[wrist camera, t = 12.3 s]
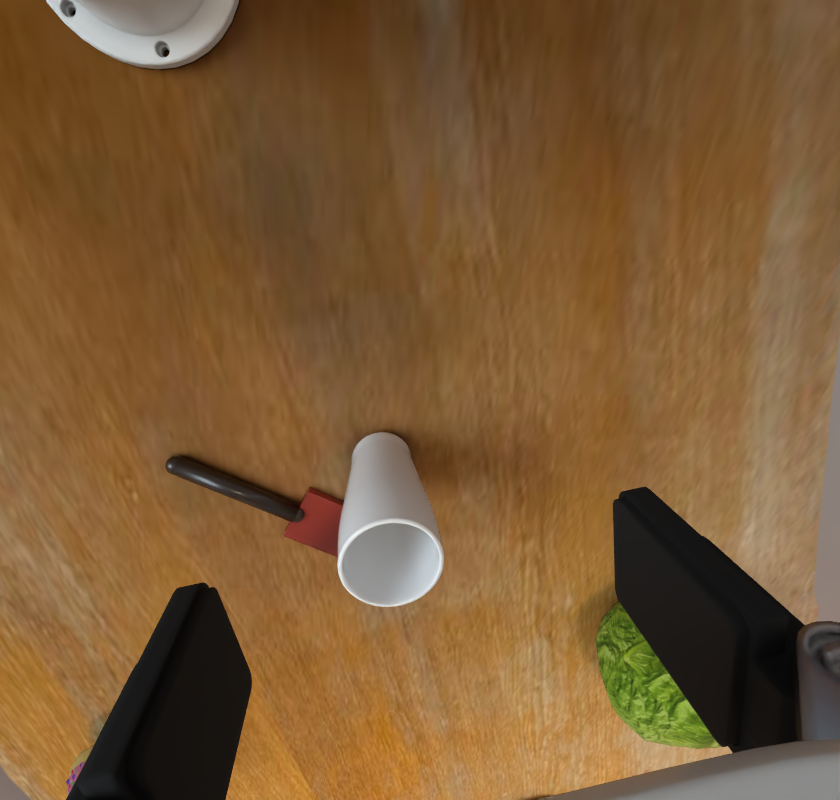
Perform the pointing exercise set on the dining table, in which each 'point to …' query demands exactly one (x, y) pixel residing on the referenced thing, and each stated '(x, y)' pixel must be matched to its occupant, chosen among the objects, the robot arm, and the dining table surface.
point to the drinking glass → (387, 526)
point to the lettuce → (645, 687)
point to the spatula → (273, 504)
